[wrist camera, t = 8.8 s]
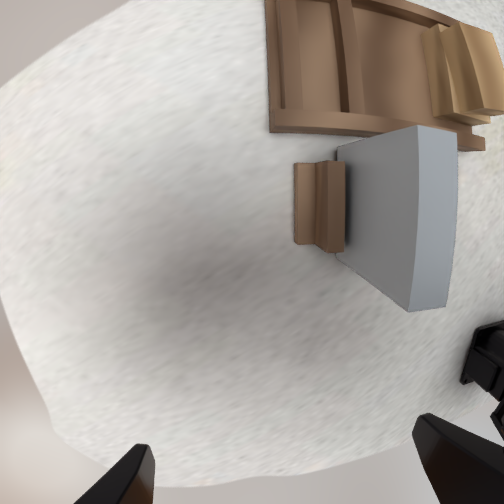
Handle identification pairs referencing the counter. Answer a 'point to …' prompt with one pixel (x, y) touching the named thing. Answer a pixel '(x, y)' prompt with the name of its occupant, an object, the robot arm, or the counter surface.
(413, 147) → the gray rectangular block
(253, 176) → the counter surface
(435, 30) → the offcut
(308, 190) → the stand
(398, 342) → the counter surface
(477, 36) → the offcut
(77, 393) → the counter surface
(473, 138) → the rack
